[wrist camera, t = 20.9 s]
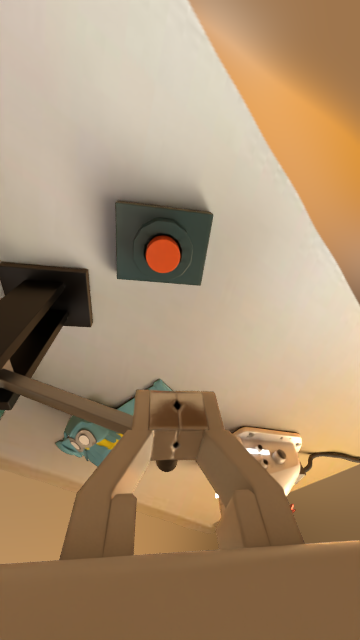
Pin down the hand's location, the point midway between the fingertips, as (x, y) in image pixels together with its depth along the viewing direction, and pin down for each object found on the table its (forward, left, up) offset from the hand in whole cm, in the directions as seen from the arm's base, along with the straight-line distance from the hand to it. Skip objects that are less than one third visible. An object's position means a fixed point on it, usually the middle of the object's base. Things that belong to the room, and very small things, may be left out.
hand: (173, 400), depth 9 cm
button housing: (0, 0, -23) cm, 23 cm away
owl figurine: (+7, +34, -23) cm, 42 cm away
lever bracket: (+14, +8, -23) cm, 28 cm away
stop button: (0, 0, -20) cm, 20 cm away
